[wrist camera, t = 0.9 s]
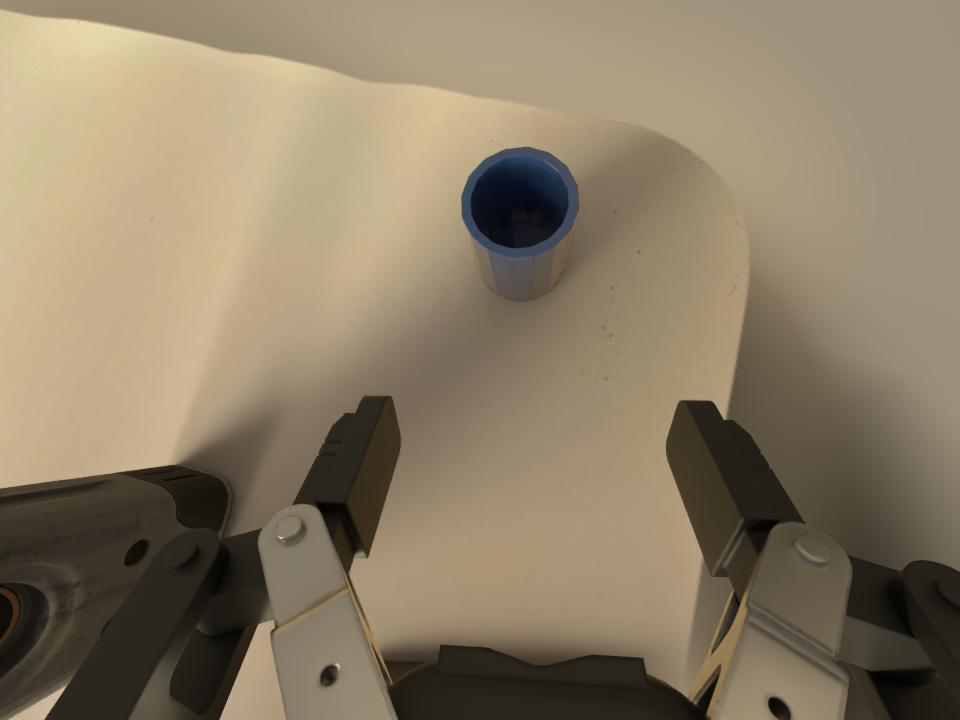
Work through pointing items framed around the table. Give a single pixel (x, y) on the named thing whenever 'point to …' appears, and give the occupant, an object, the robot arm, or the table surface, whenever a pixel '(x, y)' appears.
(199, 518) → the electronic device
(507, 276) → the cup
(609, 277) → the table surface
